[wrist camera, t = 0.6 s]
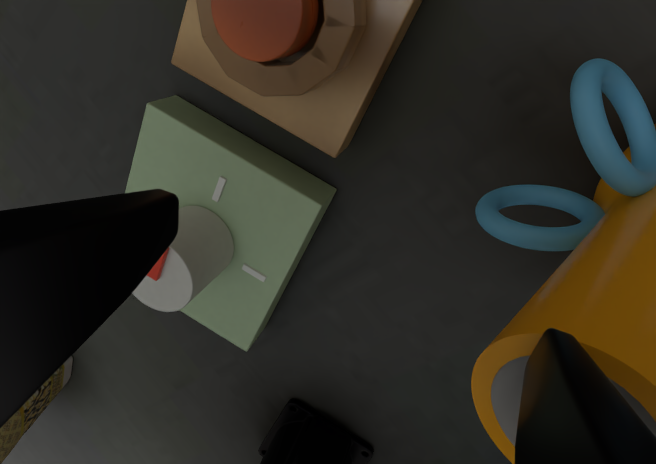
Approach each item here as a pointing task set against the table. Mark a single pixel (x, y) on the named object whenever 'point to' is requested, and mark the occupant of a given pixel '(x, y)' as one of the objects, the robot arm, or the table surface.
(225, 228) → the dial
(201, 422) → the table surface
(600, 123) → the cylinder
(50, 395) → the ceramic cup
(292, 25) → the top button
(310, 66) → the button block
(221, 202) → the dial panel
